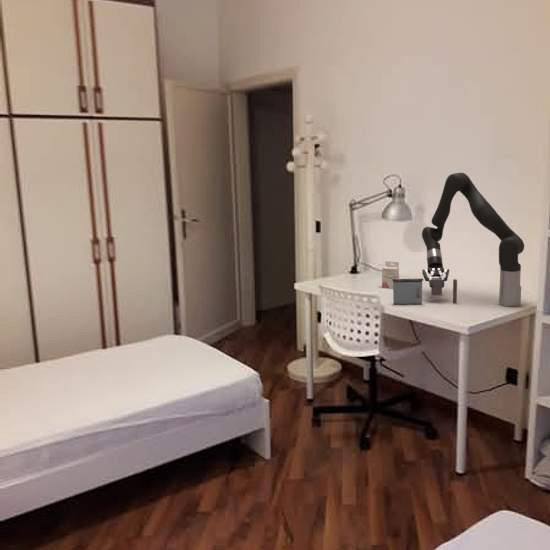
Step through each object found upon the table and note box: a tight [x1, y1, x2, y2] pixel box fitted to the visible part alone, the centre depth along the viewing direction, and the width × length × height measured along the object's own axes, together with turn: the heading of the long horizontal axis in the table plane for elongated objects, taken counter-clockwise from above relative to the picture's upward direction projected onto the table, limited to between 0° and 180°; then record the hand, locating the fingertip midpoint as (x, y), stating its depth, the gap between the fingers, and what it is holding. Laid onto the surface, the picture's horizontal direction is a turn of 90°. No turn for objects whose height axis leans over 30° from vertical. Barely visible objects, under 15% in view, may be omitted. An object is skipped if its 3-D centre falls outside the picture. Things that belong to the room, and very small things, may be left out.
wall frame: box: [392, 278, 458, 303], centre depth 289 cm, size 32×4×13 cm, turn 82°
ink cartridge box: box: [381, 261, 400, 289], centre depth 327 cm, size 9×5×15 cm, turn 56°
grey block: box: [394, 281, 423, 305], centre depth 289 cm, size 14×2×11 cm, turn 82°
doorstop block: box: [430, 277, 443, 296], centre depth 292 cm, size 5×5×8 cm
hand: (437, 287), depth 290 cm, fingers closed on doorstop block, 4 cm apart
